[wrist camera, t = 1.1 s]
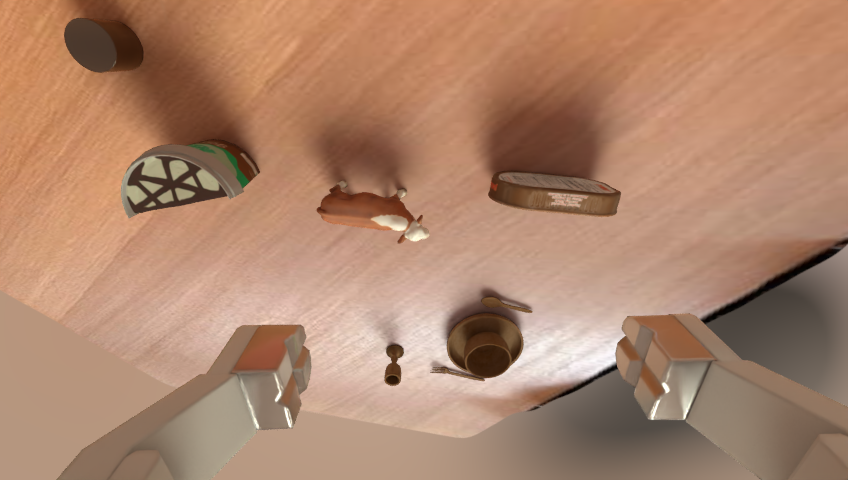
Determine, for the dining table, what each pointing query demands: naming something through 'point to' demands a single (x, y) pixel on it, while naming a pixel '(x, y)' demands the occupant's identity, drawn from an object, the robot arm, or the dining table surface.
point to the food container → (185, 175)
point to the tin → (554, 193)
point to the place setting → (474, 345)
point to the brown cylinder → (103, 45)
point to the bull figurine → (371, 212)
